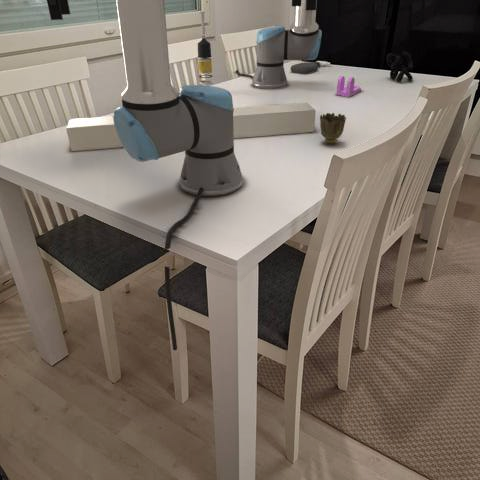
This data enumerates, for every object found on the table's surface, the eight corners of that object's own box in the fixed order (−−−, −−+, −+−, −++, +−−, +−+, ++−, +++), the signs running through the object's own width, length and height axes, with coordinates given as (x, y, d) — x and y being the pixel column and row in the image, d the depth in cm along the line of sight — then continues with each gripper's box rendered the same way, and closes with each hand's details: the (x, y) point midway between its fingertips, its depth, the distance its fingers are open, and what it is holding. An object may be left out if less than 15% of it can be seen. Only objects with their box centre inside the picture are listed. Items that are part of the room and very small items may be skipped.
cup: (314, 144, 132) (316, 118, 127) (322, 137, 137) (324, 111, 133) (339, 148, 129) (341, 121, 124) (346, 140, 134) (349, 114, 130)
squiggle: (400, 92, 202) (376, 71, 205) (417, 76, 202) (392, 56, 205) (405, 81, 191) (380, 59, 194) (423, 64, 191) (397, 42, 194)
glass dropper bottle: (214, 91, 188) (211, 12, 172) (202, 93, 186) (197, 13, 170) (210, 88, 192) (206, 11, 176) (198, 90, 190) (193, 11, 175)
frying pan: (288, 71, 219) (314, 64, 235) (307, 74, 213) (332, 66, 229) (288, 65, 217) (314, 58, 233) (307, 68, 211) (333, 60, 228)
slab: (71, 151, 131) (65, 127, 127) (75, 141, 138) (70, 119, 135) (314, 131, 142) (315, 109, 138) (305, 123, 149) (307, 102, 145)
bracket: (349, 96, 177) (351, 78, 174) (336, 94, 180) (337, 76, 177) (362, 90, 186) (364, 72, 182) (350, 88, 189) (352, 71, 185)
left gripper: (47, -88, 96) (69, 21, 107) (65, -79, 117) (81, 12, 128) (10, -88, 95) (36, 22, 106) (34, -79, 116) (54, 13, 127)
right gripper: (339, -89, 105) (331, 11, 116) (307, -81, 126) (302, 4, 137) (308, -89, 104) (303, 12, 115) (281, -81, 125) (279, 5, 136)
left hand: (61, 17), depth 117 cm, fingers open, 13 cm apart
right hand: (303, 8), depth 126 cm, fingers open, 13 cm apart
